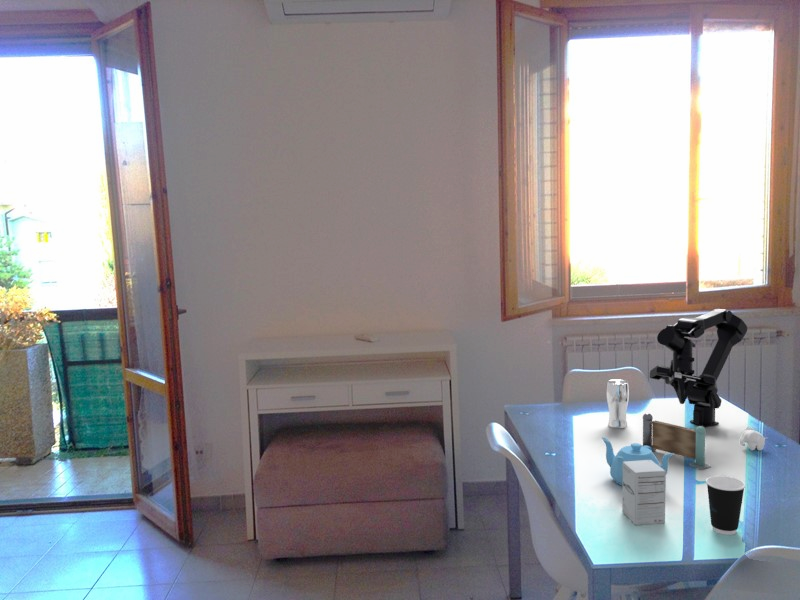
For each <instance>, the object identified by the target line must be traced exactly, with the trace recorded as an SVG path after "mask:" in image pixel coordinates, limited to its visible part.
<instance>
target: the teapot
mask: <svg viewBox="0 0 800 600" xmlns="http://www.w3.org/2000/svg"><path fill="white" fill-rule="evenodd" d="M601 440H603V442H604V444H605V449H606V451H605V452H606V453H605V459H606V463H607V464H608V466H609V467H610V468H609V469H610V470H609V474H610V476H611V478H612V479H613V481H614V482H616V484H617V485H620V486H622V487H623V462H625V461H639V460H652V461H653V462H654V463H656V464H657V465H659V466H660V467H661V468H662V469H664V470H665V471H666V475H667V474H668V470H669V459H670V457H672V456H674V455H675V454H674V453H669V452H667V453H665V454H664V455H663V456H662V459H661V464H660V462H659V459H658V458H657V457H656V455H655V454H654V452H652V449H651V447H649V446H643V447H641V446H642V445H643V444H640V443H637V442H635V443H631V444H630V445H627V446H622V447H621V449H619V451H618V452H617V453H616V454H615V453H614V450H613V445H612V443H611V441H610V440H609V439H607V438H605V437H601Z"/></svg>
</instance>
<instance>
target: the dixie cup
mask: <svg viewBox="0 0 800 600" xmlns="http://www.w3.org/2000/svg"><path fill="white" fill-rule="evenodd" d="M705 483H706V487H707V496H708V507H709V516H710V517H709V518H710V525H711V527H712V530H713V532H715V533H716V534H720V535H723V536H732V535H735V534H736V533H737V531H738V529H739V523H740V516H741V511H742V505H743V499H744V498H743V497H744V490H745V488H746V483H745V482H744V481H743V480H741V479H738V478H736V477H731V476H727V475H712V476H709V477H707V478H706V479H705Z"/></svg>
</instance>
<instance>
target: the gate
mask: <svg viewBox="0 0 800 600" xmlns="http://www.w3.org/2000/svg"><path fill="white" fill-rule="evenodd" d="M695 430H696V429H694V428H689V427H685V426H681V425H677V424H673V423H668V422H664V421H659V420H652V448H654V449H656V450H658V451H663V452H666V453H674V454H673V455H677V456H680V457H684V458H688V459H692V460H695V451H696V431H695Z"/></svg>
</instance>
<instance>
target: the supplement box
mask: <svg viewBox="0 0 800 600" xmlns="http://www.w3.org/2000/svg"><path fill="white" fill-rule="evenodd" d="M660 466H661V465H660ZM660 466H659V465H657V464H656V463H654V462H653V461H652V460H639V461H625V462H623V486H622V488H621V489H622V494H621V495H622V502H621V504H622V505H621V508H622V509H621V510H622V511H621V512H622V513H623V514H624V515H625V516H626V517H628V519H629V520H630V521H631V522H632V523H633V524H634V525H635V526H646V525H647V526H648V525H657V524H666V487H667V486H666V483H667V482H666V478H667V477H666V475H667V474H666V471H665V470H664V469H662V468H661V467H660Z"/></svg>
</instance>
